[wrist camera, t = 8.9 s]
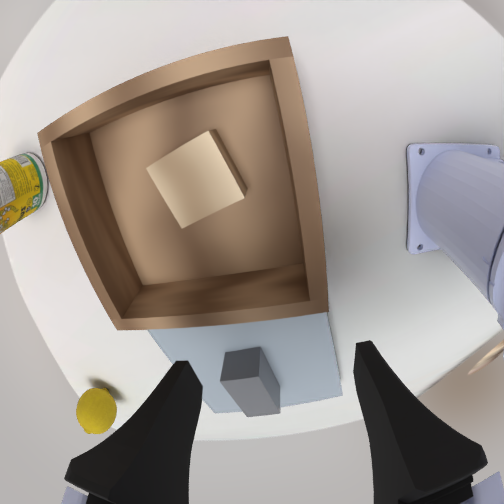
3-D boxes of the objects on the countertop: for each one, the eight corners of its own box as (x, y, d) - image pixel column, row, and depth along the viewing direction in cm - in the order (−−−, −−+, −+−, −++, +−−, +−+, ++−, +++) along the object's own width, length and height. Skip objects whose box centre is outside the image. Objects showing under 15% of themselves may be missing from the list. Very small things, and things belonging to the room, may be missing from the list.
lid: (316, 270, 20) (328, 320, 15) (339, 376, 26) (346, 419, 21) (155, 308, 23) (132, 353, 18) (218, 395, 28) (211, 435, 24)
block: (215, 129, 14) (208, 130, 12) (247, 188, 16) (244, 198, 14) (159, 162, 15) (146, 168, 13) (191, 216, 17) (182, 228, 15)
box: (282, 59, 13) (288, 36, 8) (316, 266, 19) (328, 311, 15) (84, 123, 15) (37, 133, 10) (142, 289, 21) (117, 330, 17)
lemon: (85, 371, 29) (62, 416, 22) (120, 385, 29) (100, 434, 22) (94, 391, 32) (75, 432, 25) (126, 404, 32) (109, 447, 25)
